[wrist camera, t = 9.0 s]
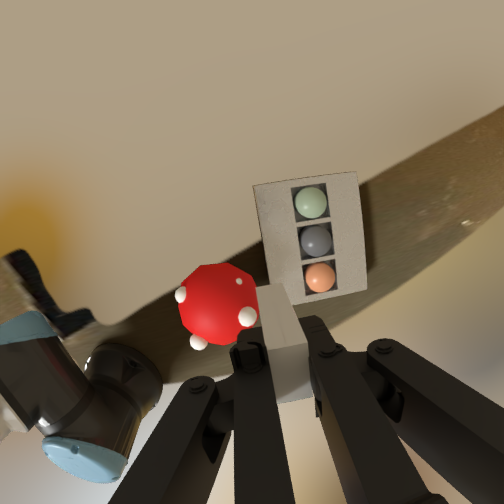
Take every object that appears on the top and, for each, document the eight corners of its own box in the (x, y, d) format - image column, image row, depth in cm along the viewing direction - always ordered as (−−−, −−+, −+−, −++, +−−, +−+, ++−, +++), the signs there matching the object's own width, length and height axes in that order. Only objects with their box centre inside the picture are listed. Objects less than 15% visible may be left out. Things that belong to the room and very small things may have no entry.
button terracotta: (305, 289, 42) (308, 294, 40) (302, 263, 41) (305, 267, 39) (331, 284, 42) (336, 289, 40) (329, 258, 41) (333, 262, 39)
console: (271, 299, 44) (274, 308, 41) (252, 185, 40) (253, 185, 37) (358, 281, 44) (367, 289, 40) (347, 172, 40) (356, 171, 36)
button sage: (296, 218, 39) (299, 220, 37) (291, 189, 38) (294, 189, 36) (324, 213, 39) (328, 215, 37) (319, 185, 38) (324, 185, 36)
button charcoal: (301, 255, 41) (304, 259, 38) (297, 227, 40) (300, 229, 38) (328, 250, 41) (333, 253, 38) (325, 222, 40) (329, 224, 38)
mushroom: (181, 310, 44) (164, 352, 32) (192, 242, 42) (174, 265, 30) (248, 324, 45) (251, 369, 33) (264, 257, 42) (273, 286, 31)
